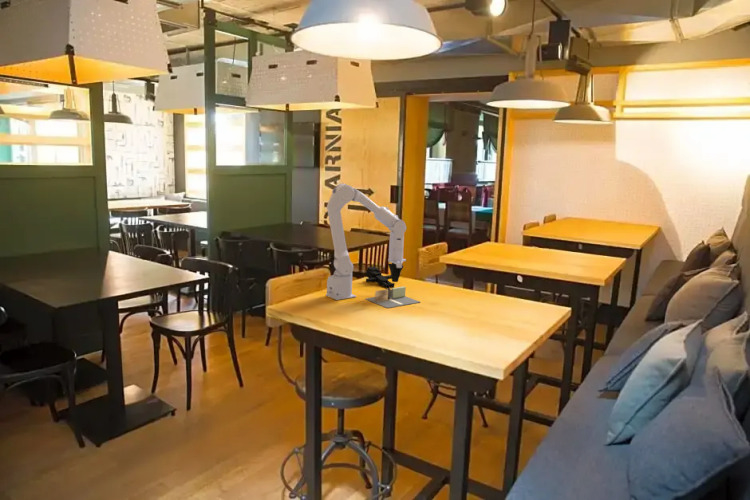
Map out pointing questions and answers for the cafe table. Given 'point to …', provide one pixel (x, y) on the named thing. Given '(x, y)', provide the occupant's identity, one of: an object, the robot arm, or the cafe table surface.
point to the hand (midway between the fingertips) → (394, 281)
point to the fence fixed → (382, 294)
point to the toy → (378, 277)
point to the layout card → (394, 301)
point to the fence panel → (397, 292)
